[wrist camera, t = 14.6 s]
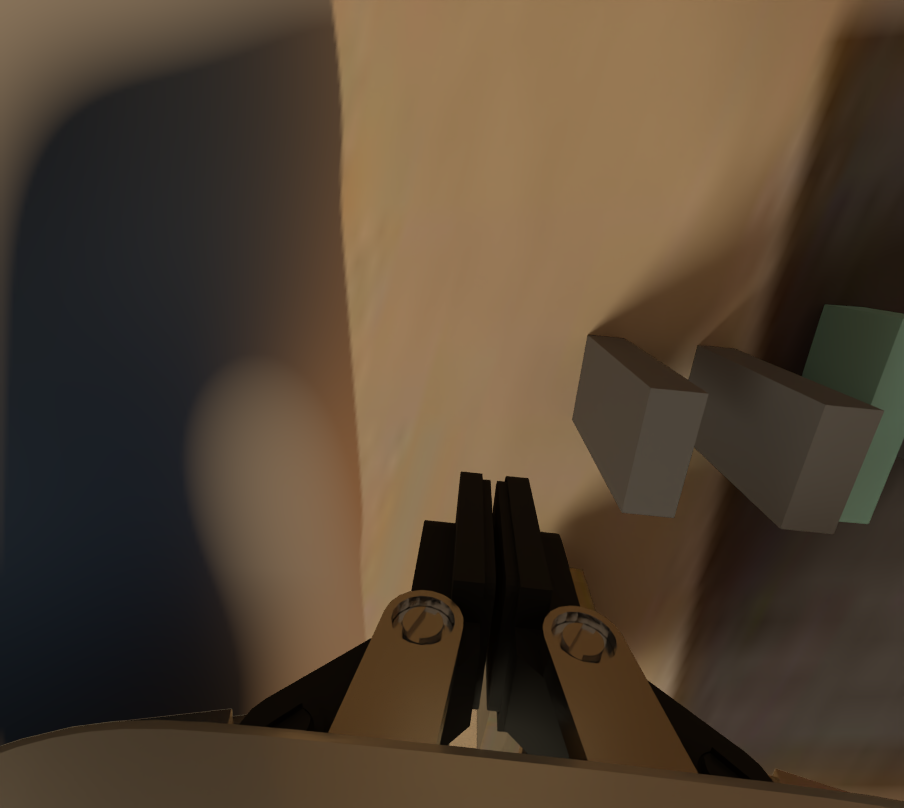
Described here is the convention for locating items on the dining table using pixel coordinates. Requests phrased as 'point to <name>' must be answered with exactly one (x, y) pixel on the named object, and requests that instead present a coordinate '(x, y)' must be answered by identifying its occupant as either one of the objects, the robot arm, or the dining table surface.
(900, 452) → the domino
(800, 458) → the domino
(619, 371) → the domino
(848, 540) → the dining table surface
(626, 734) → the robot arm
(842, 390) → the domino
